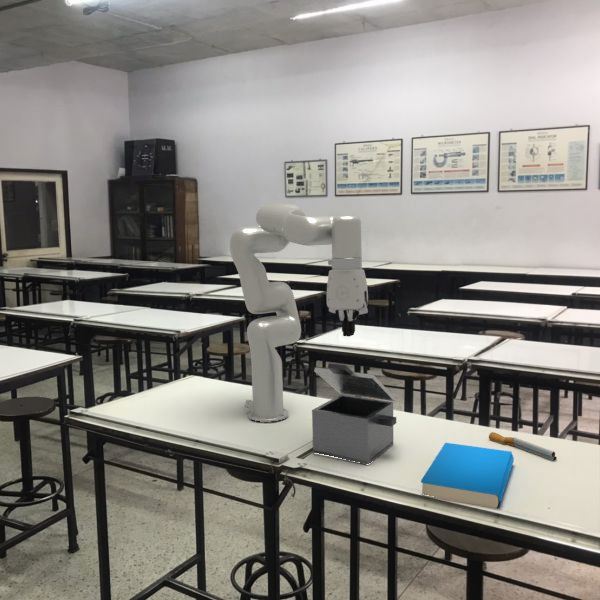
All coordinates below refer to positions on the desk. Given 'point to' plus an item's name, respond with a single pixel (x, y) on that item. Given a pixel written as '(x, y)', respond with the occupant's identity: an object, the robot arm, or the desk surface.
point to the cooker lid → (354, 382)
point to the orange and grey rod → (523, 445)
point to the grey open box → (353, 428)
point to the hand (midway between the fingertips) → (348, 335)
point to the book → (468, 474)
